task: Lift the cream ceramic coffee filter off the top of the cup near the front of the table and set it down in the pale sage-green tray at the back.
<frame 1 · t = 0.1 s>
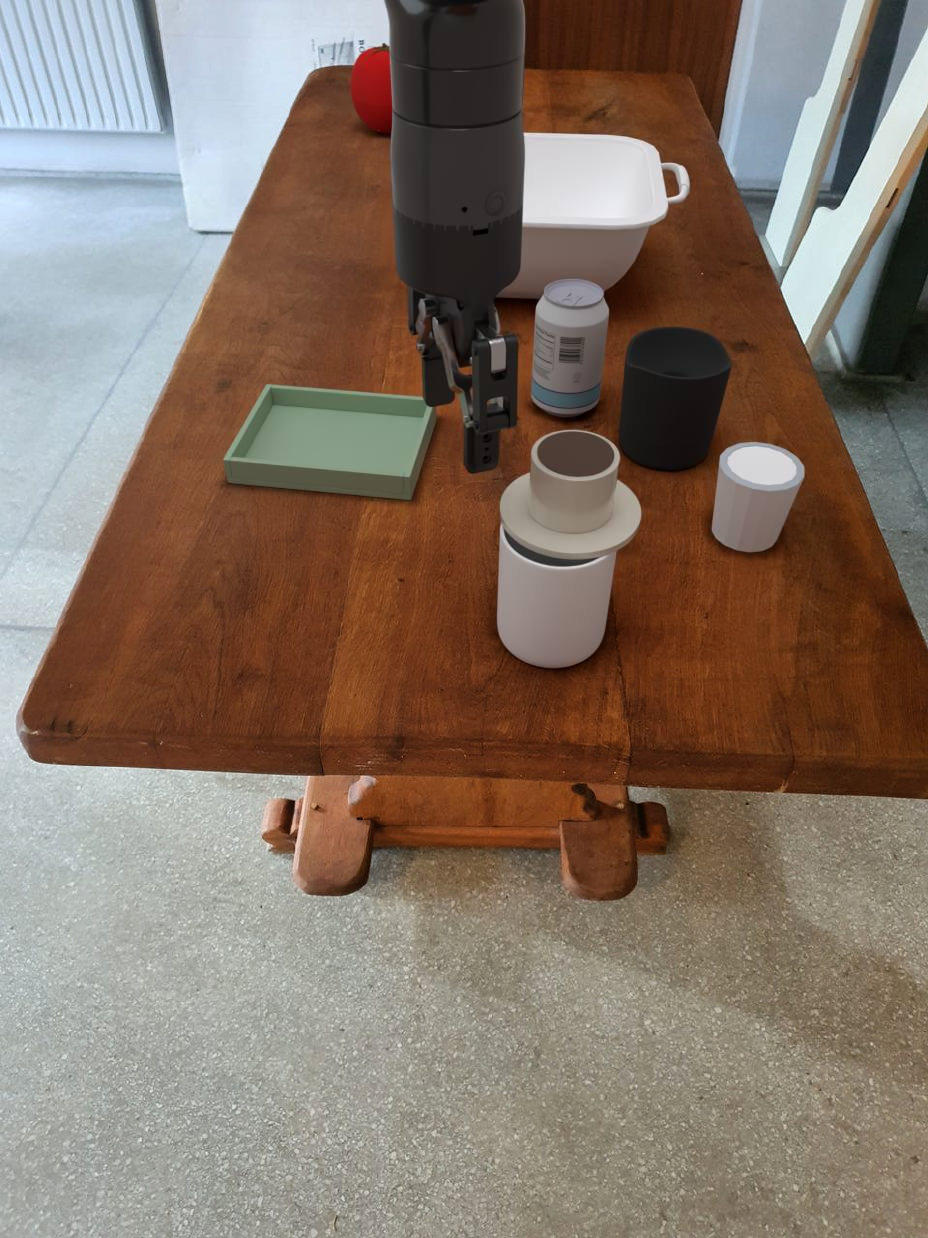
hand: (459, 434, 65), 15 cm above the table, tool pointing down, fingers open, 8 cm apart
filter: (569, 513, 67), point 10 cm above the table, touching cup
plate: (502, 179, 141), on the table
tray: (336, 450, 91), on the table
tomato: (390, 130, 157), on the table
cup: (558, 618, 74), on the table, touching filter
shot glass: (743, 532, 82), on the table
baking dish: (534, 277, 118), on the table
pen holder: (662, 447, 91), on the table
beverage can: (564, 405, 97), on the table
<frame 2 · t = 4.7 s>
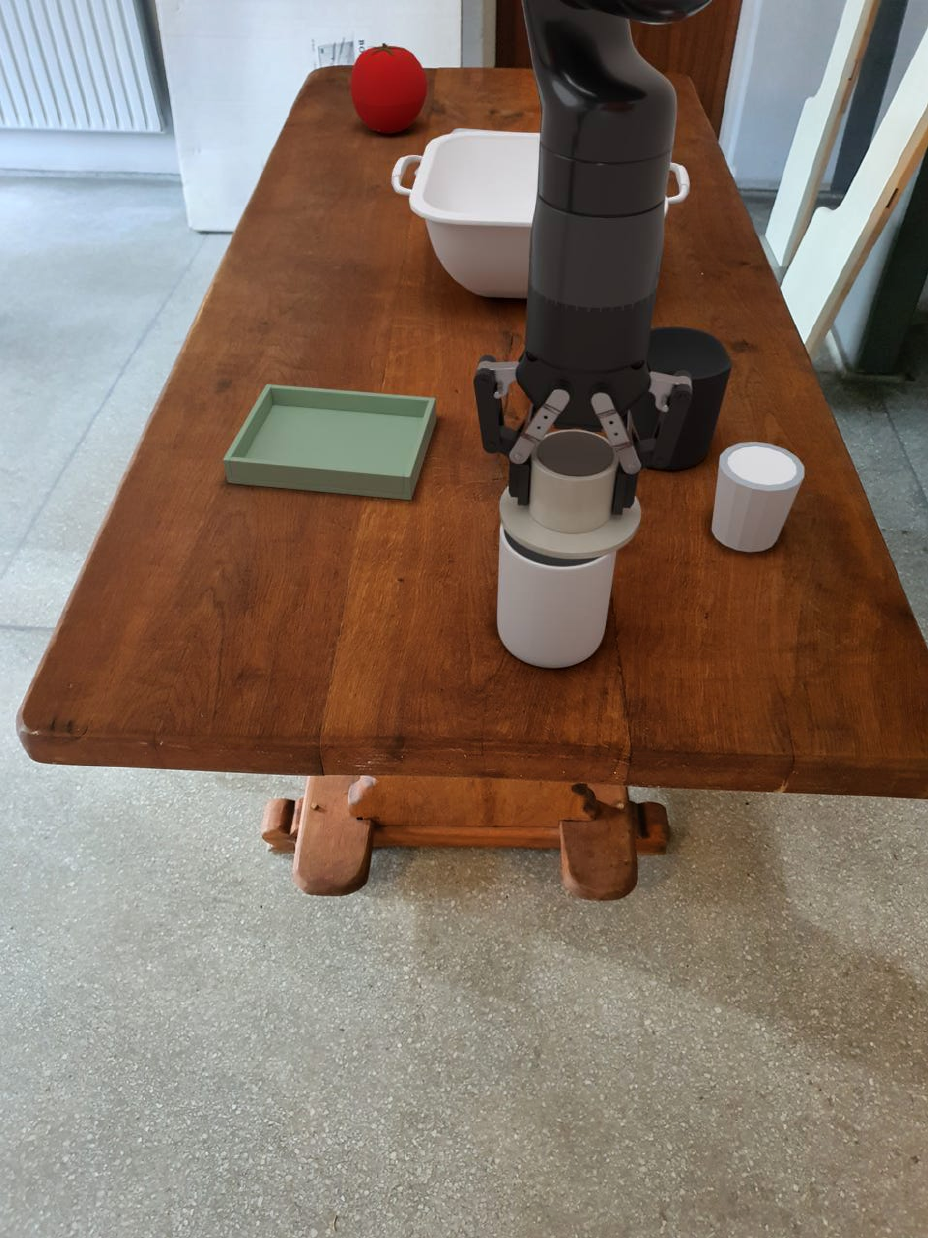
hand: (570, 502, 66), 11 cm above the table, tool pointing down, fingers closed on filter, 6 cm apart
filter: (569, 513, 67), point 10 cm above the table, touching cup, gripper
everything else where it was.
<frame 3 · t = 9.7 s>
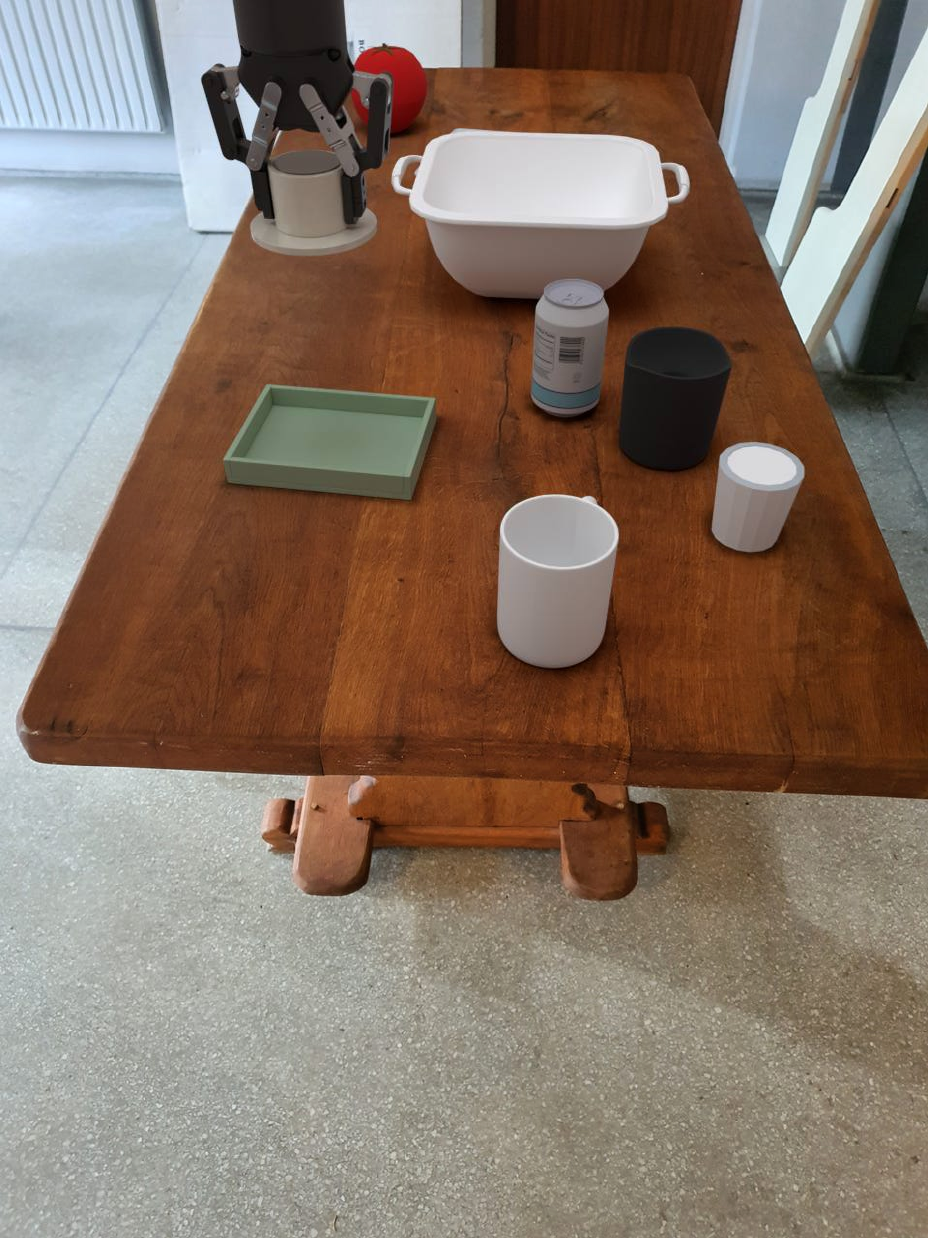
hand: (313, 217, 75), 22 cm above the table, tool pointing down, fingers closed on filter, 6 cm apart
filter: (314, 229, 75), point 21 cm above the table, touching gripper
cup: (558, 618, 74), on the table
everything else where it was.
when the fingers open (2 cm above the table, at t = 14.7 s): filter stays where it is, resting on tray.
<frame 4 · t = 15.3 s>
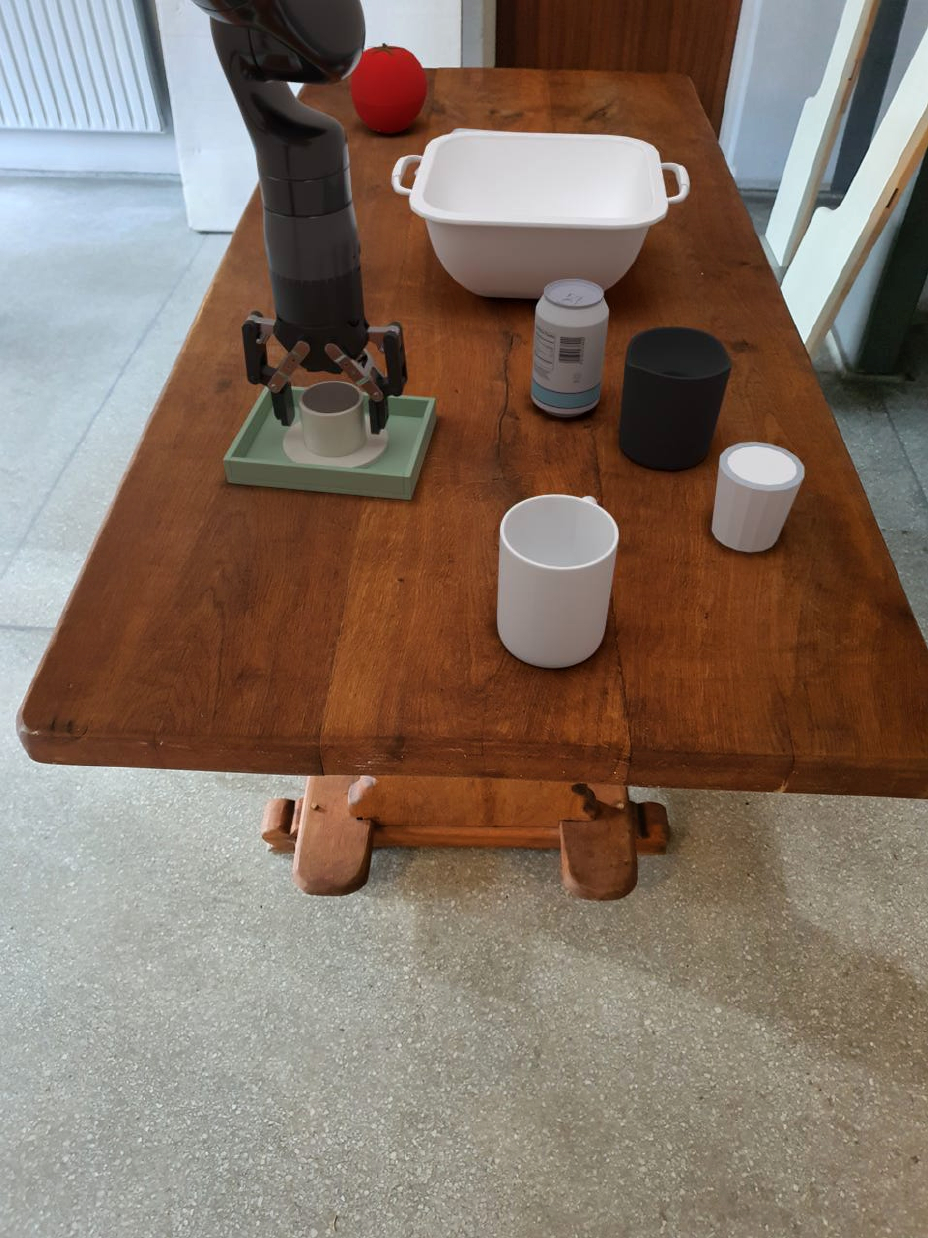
hand: (333, 425, 89), 3 cm above the table, tool pointing down, fingers open, 8 cm apart
filter: (336, 444, 90), point 1 cm above the table, touching tray
everything else where it was.
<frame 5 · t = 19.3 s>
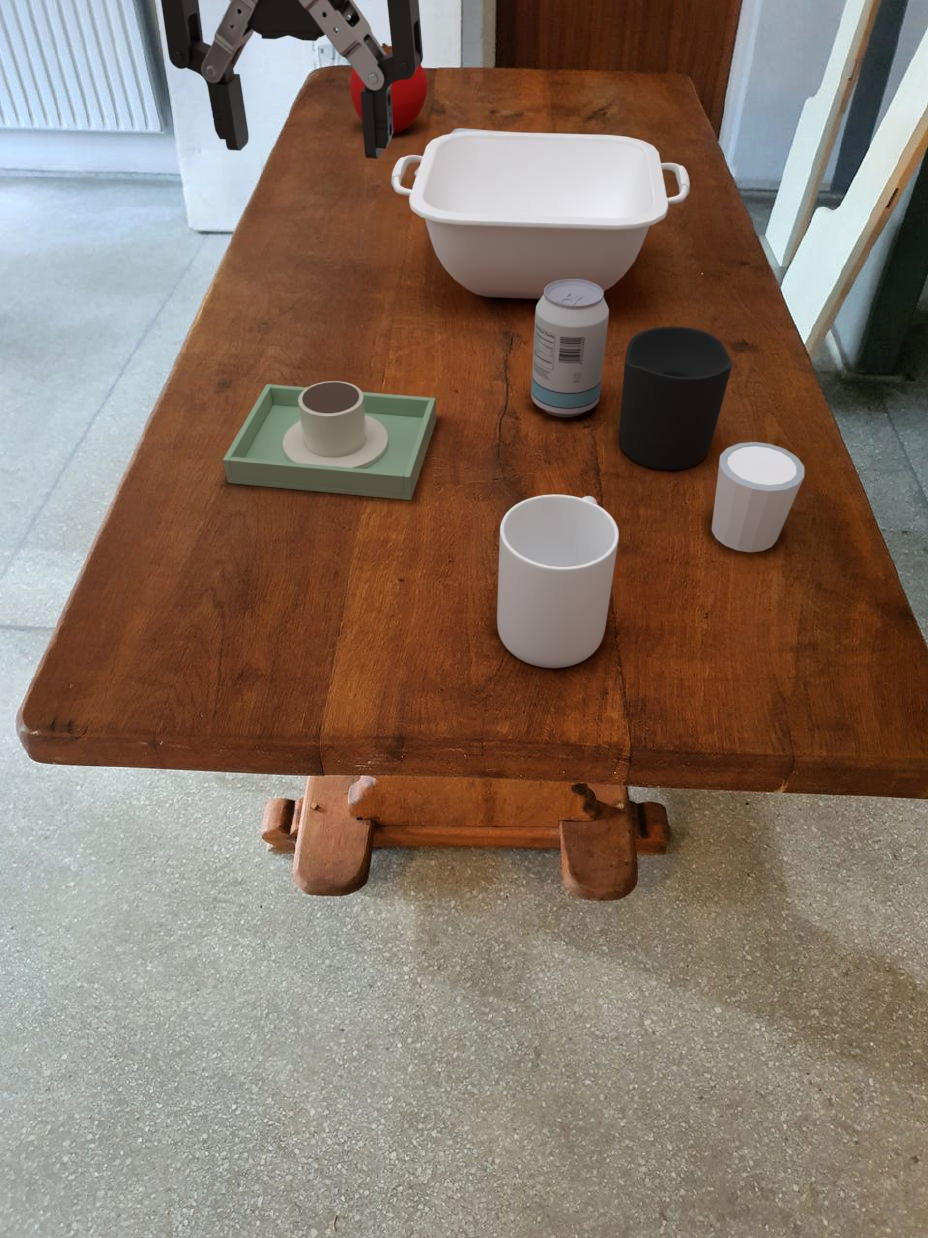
hand: (306, 150, 57), 32 cm above the table, tool pointing down, fingers open, 8 cm apart
nothing on the table moved.
at the end: filter inside the target area in the tray (0.1 cm from its centre), point 0.6 cm above the tray's base; filter tilted 0°; filter touching tray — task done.
